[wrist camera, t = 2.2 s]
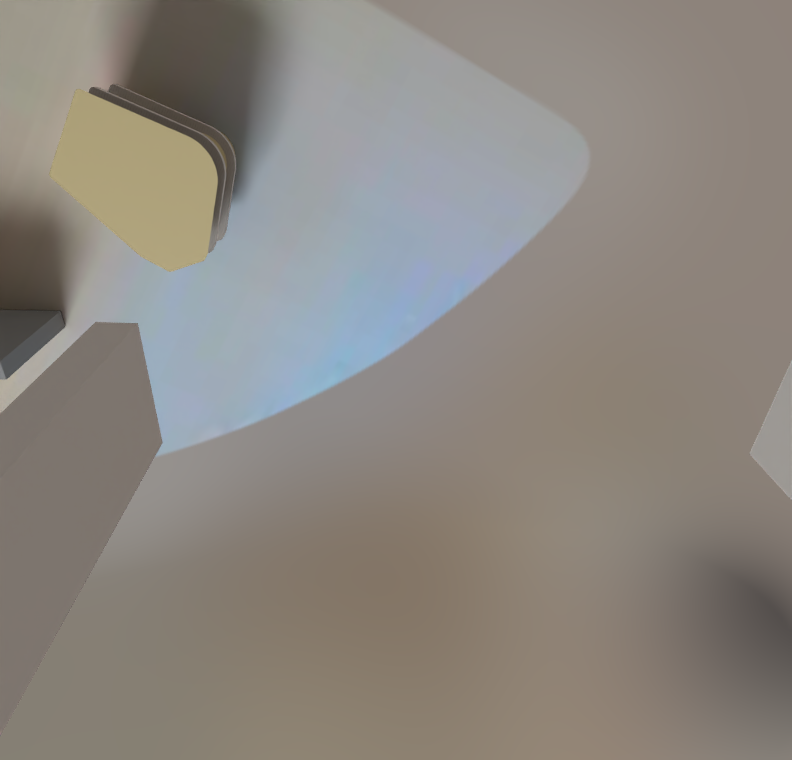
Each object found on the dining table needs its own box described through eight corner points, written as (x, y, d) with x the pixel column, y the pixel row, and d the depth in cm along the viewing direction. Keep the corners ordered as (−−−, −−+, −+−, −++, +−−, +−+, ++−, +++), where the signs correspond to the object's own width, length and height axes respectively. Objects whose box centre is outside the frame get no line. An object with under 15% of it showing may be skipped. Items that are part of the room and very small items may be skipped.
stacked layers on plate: (56, 187, 29) (-7, 214, 24) (113, 13, 25) (52, 5, 21) (235, 284, 32) (210, 325, 27) (310, 141, 28) (296, 159, 24)
